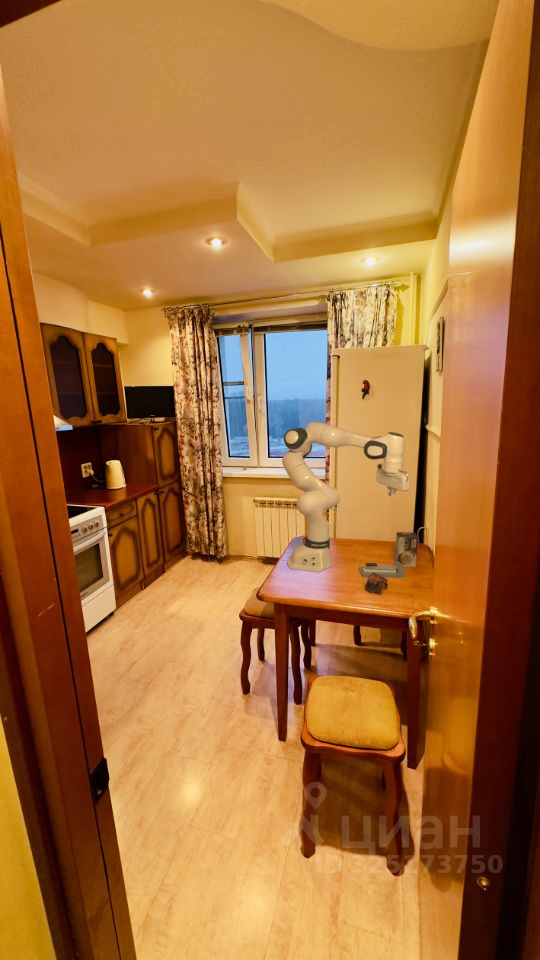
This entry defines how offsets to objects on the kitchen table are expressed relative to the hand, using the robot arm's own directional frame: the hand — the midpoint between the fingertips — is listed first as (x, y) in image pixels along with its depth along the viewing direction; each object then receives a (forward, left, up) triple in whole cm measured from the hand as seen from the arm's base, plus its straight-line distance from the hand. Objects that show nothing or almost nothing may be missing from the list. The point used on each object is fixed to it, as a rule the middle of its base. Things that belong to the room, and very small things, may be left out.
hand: (391, 495), depth 172 cm
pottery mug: (-10, -23, -37) cm, 44 cm away
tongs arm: (-4, -7, -34) cm, 35 cm away
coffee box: (+10, +3, -37) cm, 38 cm away
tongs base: (-4, -7, -37) cm, 38 cm away
